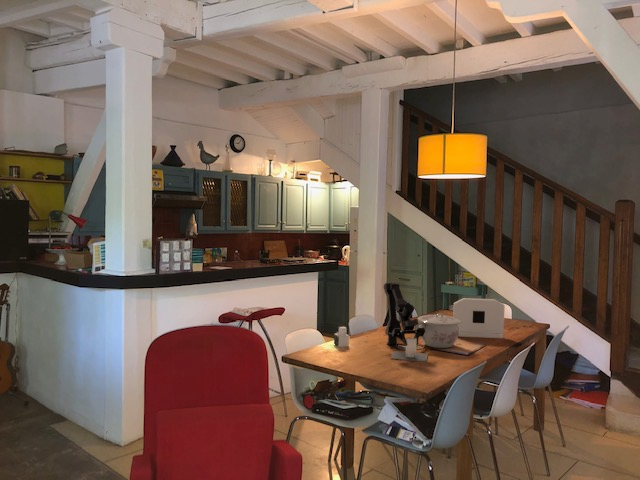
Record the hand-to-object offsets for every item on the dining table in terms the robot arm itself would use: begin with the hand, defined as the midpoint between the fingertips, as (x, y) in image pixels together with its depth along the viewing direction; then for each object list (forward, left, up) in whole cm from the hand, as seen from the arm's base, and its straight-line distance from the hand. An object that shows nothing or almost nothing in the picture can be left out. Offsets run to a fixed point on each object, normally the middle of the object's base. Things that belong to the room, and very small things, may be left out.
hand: (411, 345), depth 298 cm
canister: (-1, -1, -7) cm, 7 cm away
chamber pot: (-37, +13, -9) cm, 40 cm away
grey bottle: (-17, -45, -9) cm, 49 cm away
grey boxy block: (-81, +37, -9) cm, 90 cm away
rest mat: (-5, -2, -8) cm, 10 cm away
